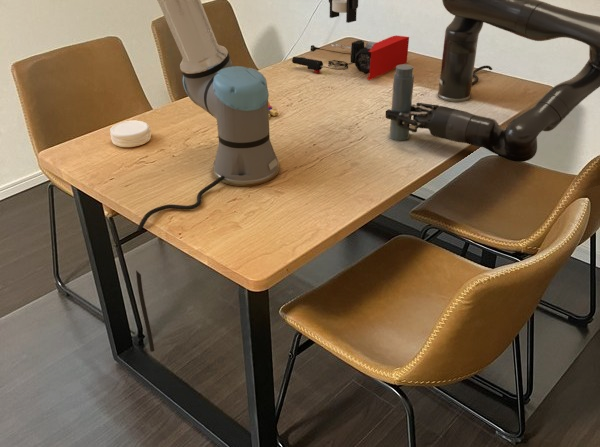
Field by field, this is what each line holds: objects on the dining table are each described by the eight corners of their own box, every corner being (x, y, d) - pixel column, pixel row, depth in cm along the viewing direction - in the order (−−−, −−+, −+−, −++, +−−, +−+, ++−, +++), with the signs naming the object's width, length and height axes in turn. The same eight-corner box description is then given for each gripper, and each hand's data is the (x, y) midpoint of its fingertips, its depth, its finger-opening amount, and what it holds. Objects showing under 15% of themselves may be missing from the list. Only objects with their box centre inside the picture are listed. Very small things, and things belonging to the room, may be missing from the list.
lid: (337, 6, 159) (337, -4, 158) (357, 8, 157) (358, -2, 155) (328, 11, 155) (328, 1, 153) (348, 13, 152) (349, 3, 151)
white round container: (123, 151, 155) (121, 138, 153) (105, 139, 162) (102, 126, 160) (158, 140, 161) (156, 127, 159) (139, 128, 167) (137, 116, 165)
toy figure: (281, 107, 173) (253, 94, 180) (262, 114, 169) (235, 100, 176) (281, 115, 175) (253, 102, 182) (262, 122, 171) (235, 108, 178)
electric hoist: (290, 37, 203) (370, 51, 188) (334, 23, 222) (410, 35, 207) (290, 67, 208) (368, 84, 193) (333, 51, 227) (407, 65, 212)
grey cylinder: (396, 142, 158) (401, 71, 148) (385, 134, 162) (390, 65, 152) (412, 138, 160) (418, 68, 150) (402, 131, 164) (407, 62, 154)
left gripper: (307, -85, 149) (307, 14, 161) (361, -78, 136) (357, 29, 149) (330, -87, 152) (329, 10, 165) (385, -81, 140) (379, 23, 153)
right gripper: (439, 149, 147) (376, 133, 156) (463, 129, 157) (403, 114, 166) (442, 120, 143) (378, 104, 152) (467, 101, 153) (405, 87, 162)
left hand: (342, 18), depth 157 cm, fingers closed on lid, 6 cm apart
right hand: (391, 110), depth 159 cm, fingers closed on grey cylinder, 5 cm apart
